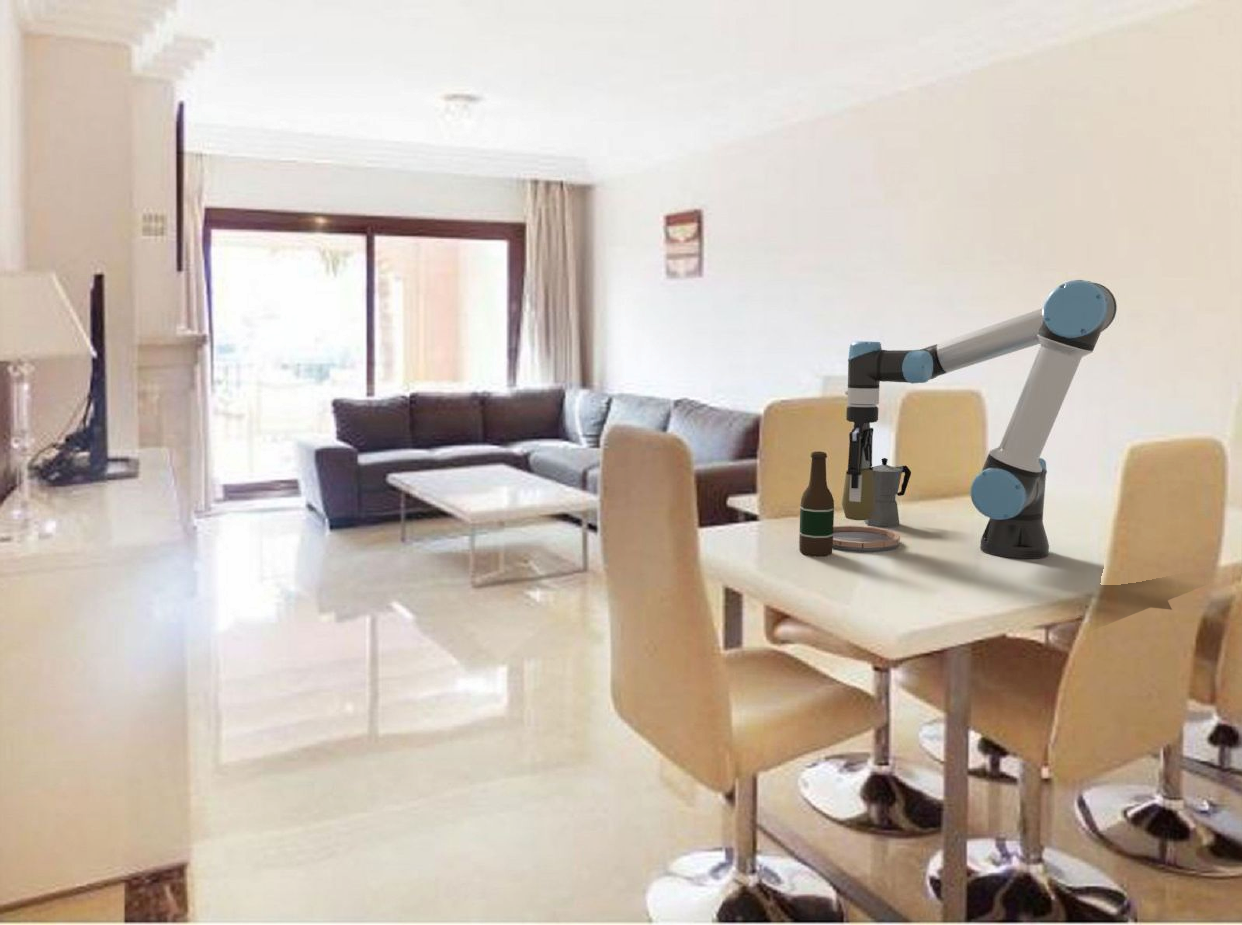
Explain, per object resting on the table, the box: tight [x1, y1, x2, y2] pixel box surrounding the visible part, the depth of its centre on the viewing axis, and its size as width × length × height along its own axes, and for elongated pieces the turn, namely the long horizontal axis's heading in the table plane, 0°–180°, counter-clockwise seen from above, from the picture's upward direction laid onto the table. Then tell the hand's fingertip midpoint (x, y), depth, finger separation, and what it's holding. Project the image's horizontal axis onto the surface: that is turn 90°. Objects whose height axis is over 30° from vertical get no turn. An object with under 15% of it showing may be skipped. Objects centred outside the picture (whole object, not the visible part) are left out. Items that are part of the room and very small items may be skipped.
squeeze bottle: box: [841, 451, 875, 521], centre depth 238 cm, size 8×8×18 cm
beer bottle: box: [798, 451, 835, 557], centre depth 227 cm, size 8×8×24 cm
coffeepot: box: [863, 457, 912, 528], centre depth 262 cm, size 15×9×18 cm, turn 113°
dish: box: [832, 524, 901, 553], centre depth 240 cm, size 20×20×2 cm
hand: (858, 498), depth 238 cm, fingers closed on squeeze bottle, 6 cm apart
